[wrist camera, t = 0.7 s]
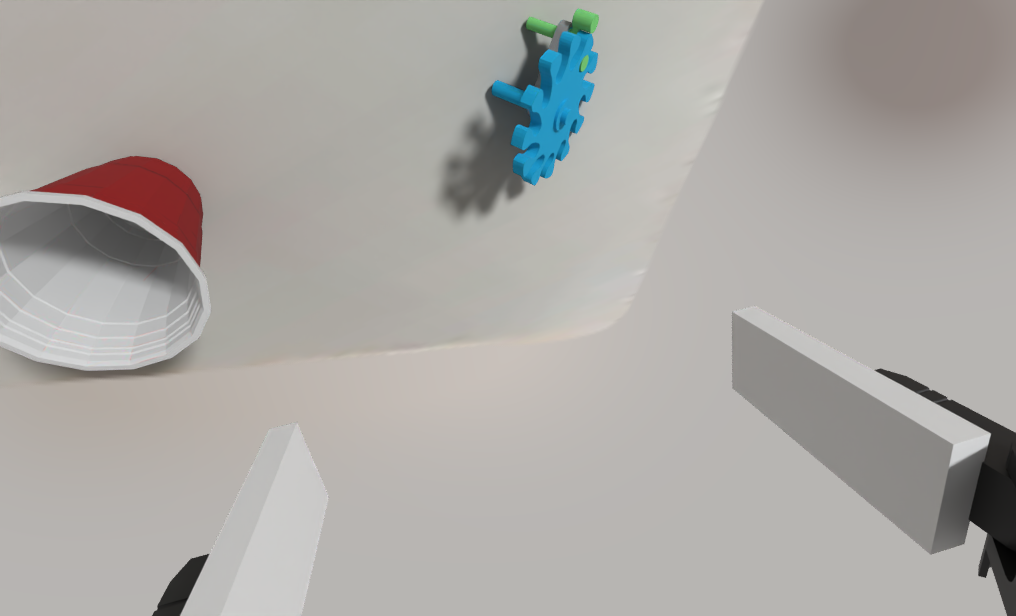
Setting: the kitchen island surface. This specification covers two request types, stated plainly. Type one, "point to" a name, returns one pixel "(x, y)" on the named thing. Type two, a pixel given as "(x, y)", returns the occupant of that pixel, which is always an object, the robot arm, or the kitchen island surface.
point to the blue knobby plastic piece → (553, 95)
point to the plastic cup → (103, 267)
